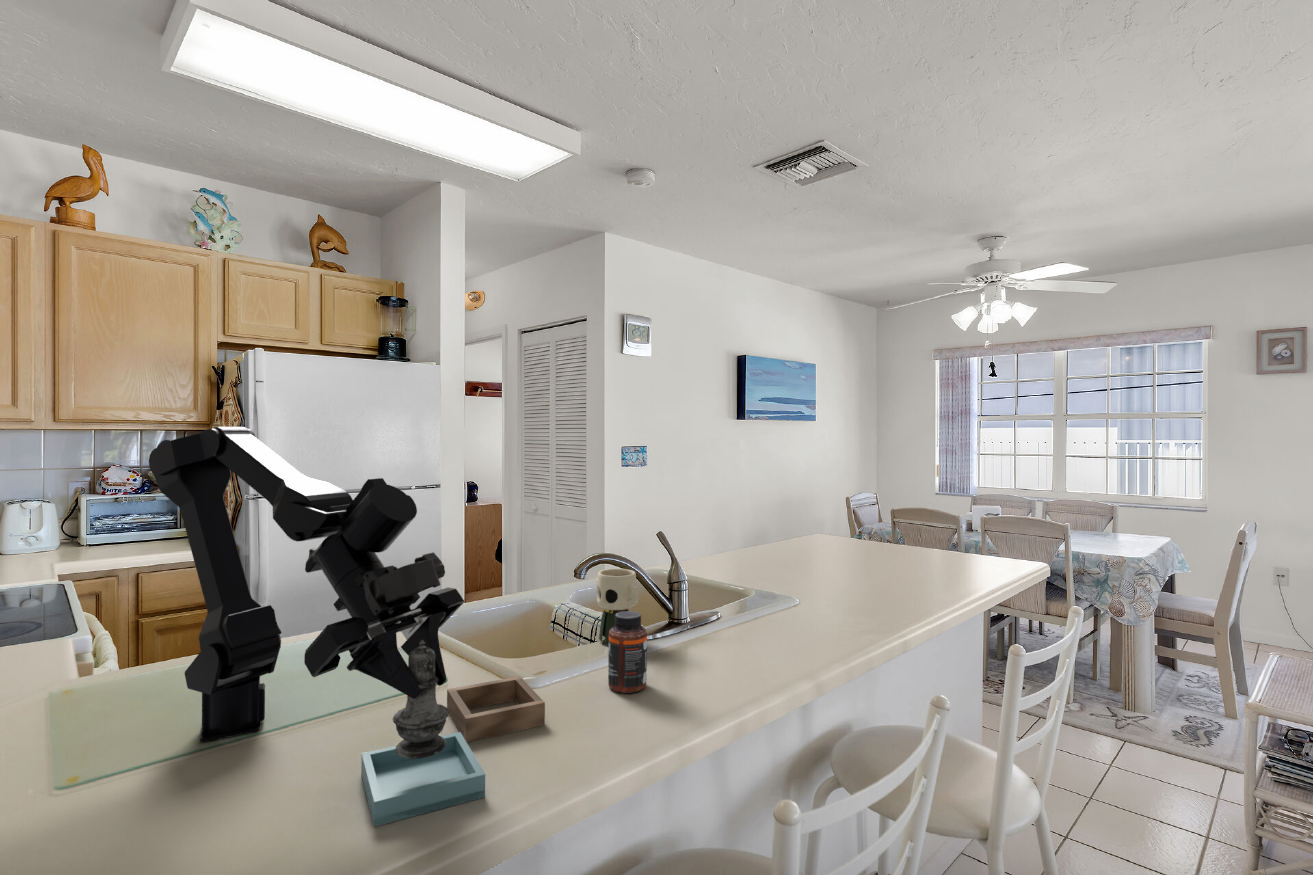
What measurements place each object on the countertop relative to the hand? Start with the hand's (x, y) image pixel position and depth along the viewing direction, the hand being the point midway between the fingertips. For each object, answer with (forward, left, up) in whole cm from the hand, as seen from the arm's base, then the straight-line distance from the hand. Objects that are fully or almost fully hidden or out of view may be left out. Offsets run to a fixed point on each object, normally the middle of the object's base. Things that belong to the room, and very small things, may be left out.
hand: (430, 689), depth 72 cm
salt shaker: (-1, +1, -7) cm, 7 cm away
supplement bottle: (+32, +15, -11) cm, 37 cm away
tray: (-1, +1, -11) cm, 11 cm away
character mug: (+40, +35, -11) cm, 55 cm away
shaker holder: (+11, +14, -11) cm, 21 cm away
